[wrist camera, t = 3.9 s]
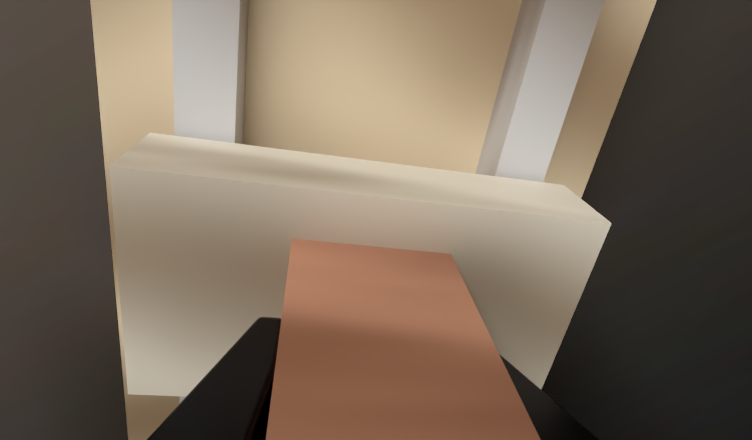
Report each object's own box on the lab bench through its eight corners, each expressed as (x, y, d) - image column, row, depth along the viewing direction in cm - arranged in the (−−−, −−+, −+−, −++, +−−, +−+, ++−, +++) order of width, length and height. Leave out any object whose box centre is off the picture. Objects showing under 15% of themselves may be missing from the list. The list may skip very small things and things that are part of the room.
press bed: (448, 485, 20) (489, 649, 15) (149, 482, 18) (83, 668, 13) (670, -147, 11) (972, -269, 6) (101, -297, 9) (-194, -678, 4)
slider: (503, 352, 13) (673, 695, 7) (158, 331, 11) (-43, 744, 5) (563, 184, 11) (899, 453, 4) (150, 132, 9) (-208, 422, 3)
